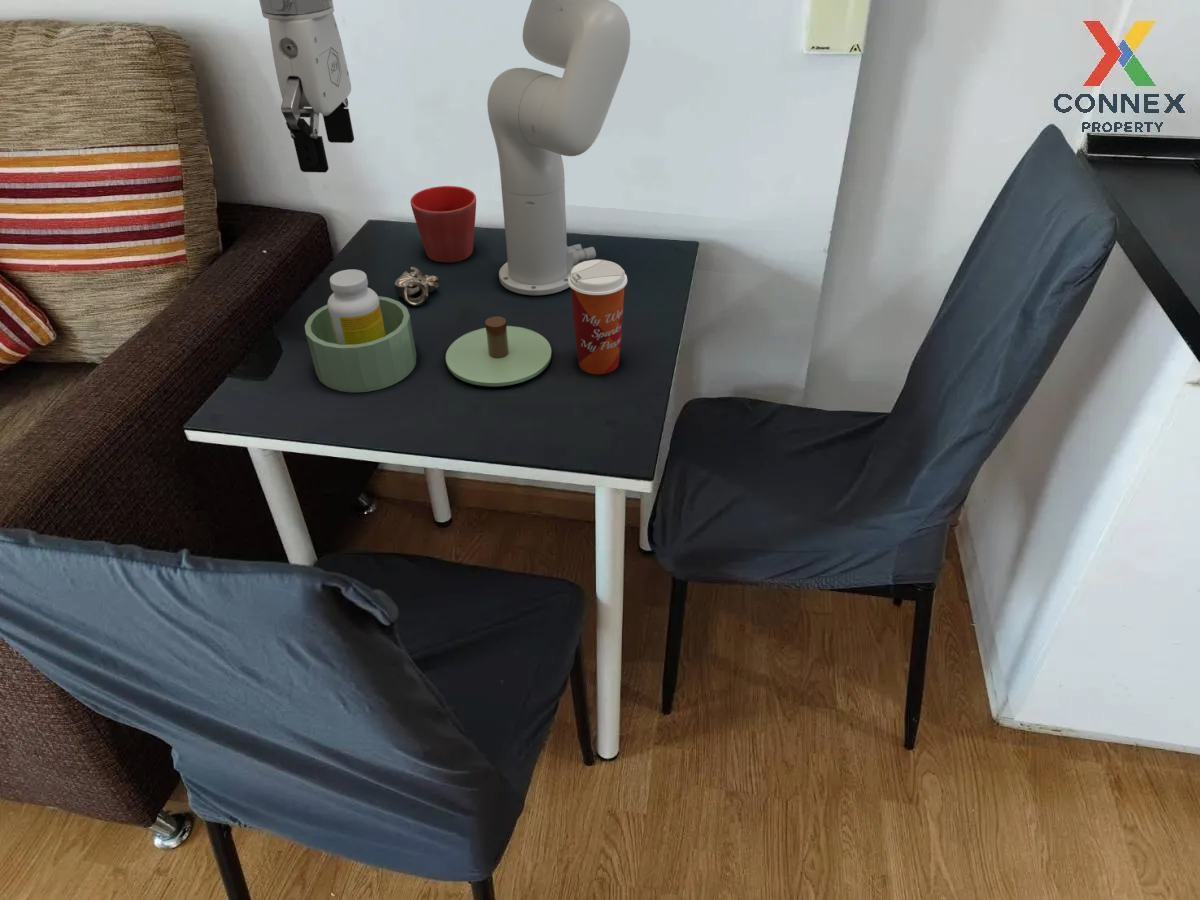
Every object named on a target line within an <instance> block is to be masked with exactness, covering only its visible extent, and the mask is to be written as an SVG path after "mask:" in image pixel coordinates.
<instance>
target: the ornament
mask: <svg viewBox="0 0 1200 900" xmlns="http://www.w3.org/2000/svg"><path fill="white" fill-rule="evenodd" d="M410 271H411V272H408V271H407V270H405V271H404V272H402V274H401V275H400V276H399V277H398V278H397V279H395V282H394V290H395V293H396V295H397V296H399V297H401V298H403V299H404V300H403V301H404V302H405V303H407V304H408V305H409V306H411V307H419V306H422V305H423V304H424V302H425V301H427V299H428V297H429V294H431V293H433V292H434V291H435V290H436V289H438V288H439V287H440V285H441V283H440V278H439V277H438V276H437V275H433V274H432V275H429V274H423V273H422V272H421V270H420V269H418V268H417V267H415V266H410ZM419 293H421V294H420V295H419V296H418V297H413V296H415V295H417V294H419Z"/></svg>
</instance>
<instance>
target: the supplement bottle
mask: <svg viewBox="0 0 1200 900" xmlns="http://www.w3.org/2000/svg"><path fill="white" fill-rule="evenodd" d="M329 285H330V289H331V291H332V292H333V293H332V294H331V295H329V297H328V299H327V304H328V310H329V314H330V318H331V322H332V326H333V330H334V335H335V339H336V343H337V344H340V345H352V344H361V343H366V342H371V341H374V340H377V339H380V338H383V337H385V336H386V333H385V328H384V323H383V317H382V312H381V307H380V302H379V298H378V296H379V295H378V294H377V292H376V291H375V290H373V289H372V288H370V287H368V285H369V279H368V277H367V274H366V273H365V272H364V271H363V270H361V269H356V268H355V269H354V268H353V269H349V268H348V269H343V270H340V271H337V272H334V273H333V274H332V275H330V277H329Z"/></svg>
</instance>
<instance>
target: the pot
mask: <svg viewBox="0 0 1200 900" xmlns="http://www.w3.org/2000/svg"><path fill="white" fill-rule="evenodd" d="M378 298H379V302H380V307H381V312H382V317H383V323H384V328H385V333H386V336H385V337H383V338H380V339H377V340H374V341H371V342H366V343H361V344H352V345H340V344H337V343H336V339H335V335H334V330H333V326H332V322H331V318H330V314H329V310H328V303H327V304H325V305H324V306H321V307H320V308H318V309H316V310H315V311H314V312H313V313H312V314H310V316H308V318H307V320H306V322H305V324H304V332H305V336H306V341H307V343H308V348H309V352H310V355H311V359H312V363H313V368H314V370H315V374H316V376H317V378H318V380H319V382H320V383H321V384H323V385H324V386H326V387H327V388H329V389H332V390H335V391H339V392H344V393H367V392H369V393H370V392H373V391H374V392H375V391H378V390H383V389H385V388H388V387H391V386H393V385H395V384H397V383H399V382H401V381H402V380H404V379H405V378H406V377H408V376H409V375H410V374H411V373H412V372H413V371H414V369H415V367H416V364H417V351H416V345H415V338H414V333H413V327H412V320H411V315H410V312H409V309H408V308H407V306H406V305H404V304H403V303H402V302H401V301H398V300H396V299H393V298H391V297H387V296H379V295H378Z"/></svg>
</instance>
